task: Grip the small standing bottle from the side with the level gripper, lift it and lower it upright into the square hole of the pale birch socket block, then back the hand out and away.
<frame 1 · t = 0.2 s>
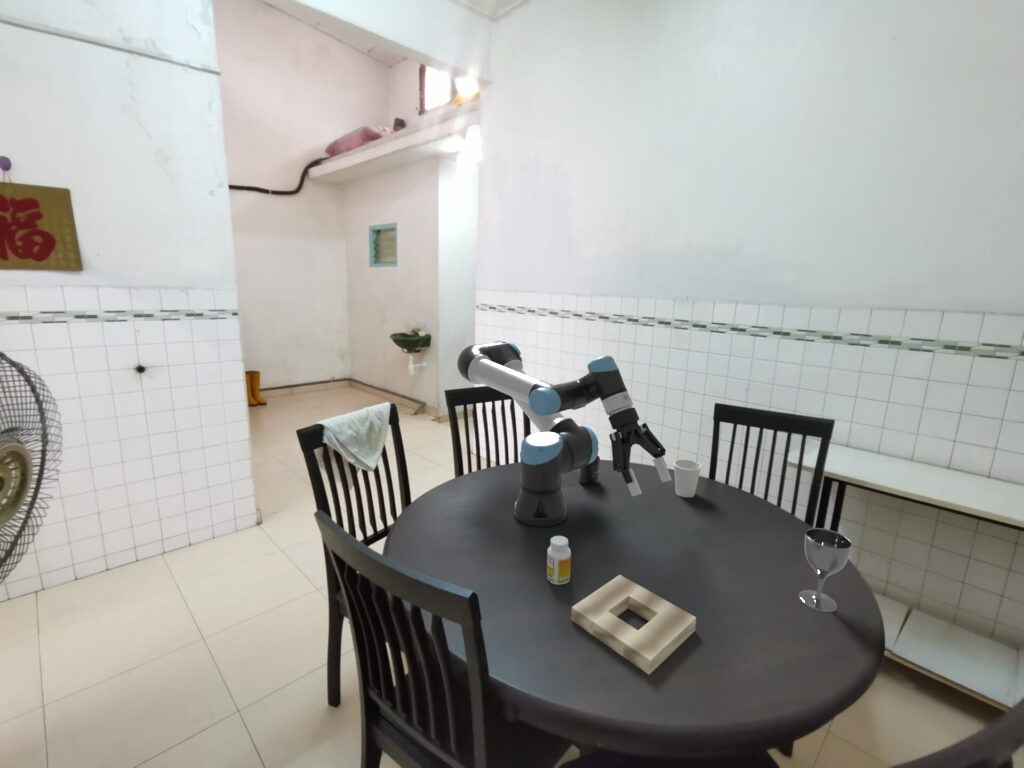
hand: (652, 488, 123), 14 cm above the table, tool tilted 35°, fingers open, 13 cm apart
supplement bottle: (588, 481, 160), on the table
dixie cup: (684, 494, 152), on the table
wine glass: (817, 601, 102), on the table
socket block: (632, 625, 95), on the table
supplement bottle 2: (558, 579, 109), on the table
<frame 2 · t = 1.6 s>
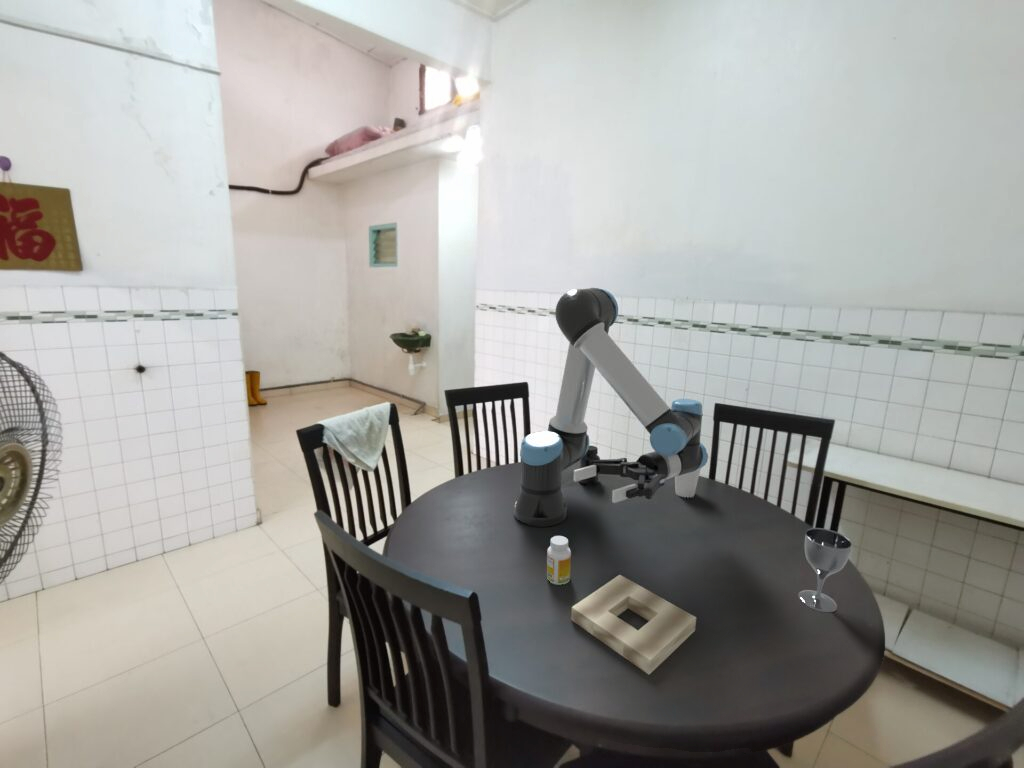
hand: (592, 485, 110), 20 cm above the table, tool horizontal, fingers open, 13 cm apart
nothing on the table moved.
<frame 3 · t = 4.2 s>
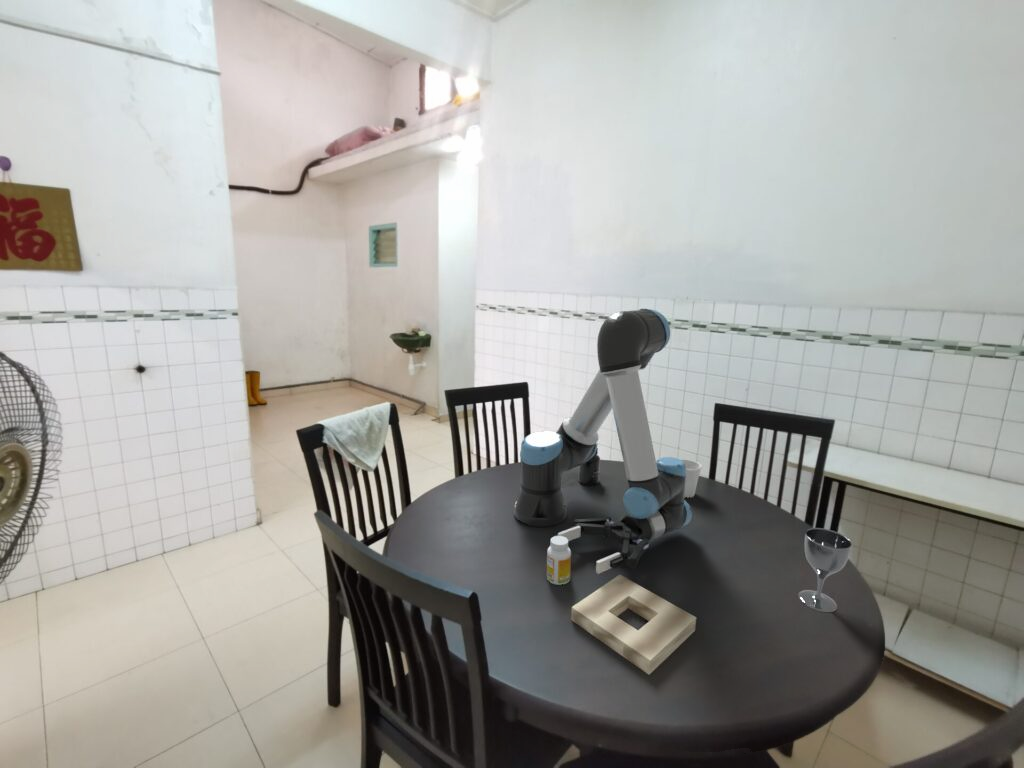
hand: (576, 552, 109), 6 cm above the table, tool horizontal, fingers open, 13 cm apart
nothing on the table moved.
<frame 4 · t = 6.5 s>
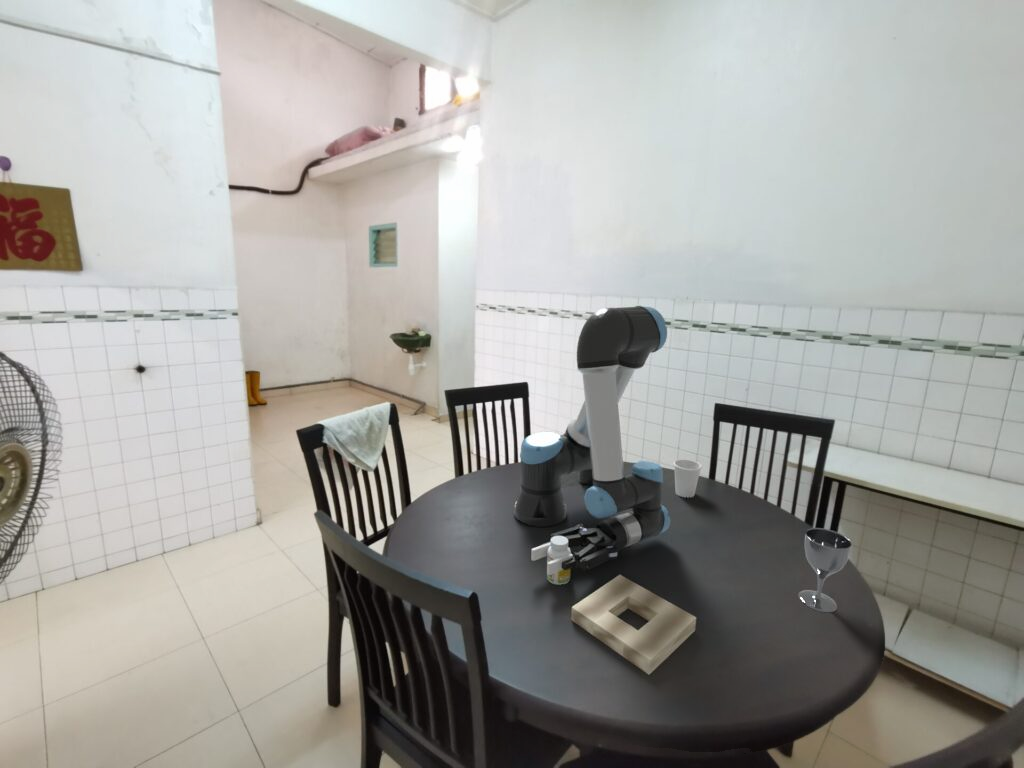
hand: (540, 561, 105), 6 cm above the table, tool horizontal, fingers closed on supplement bottle 2, 5 cm apart
supplement bottle 2: (558, 578, 109), on the table, touching gripper
everything else where it was.
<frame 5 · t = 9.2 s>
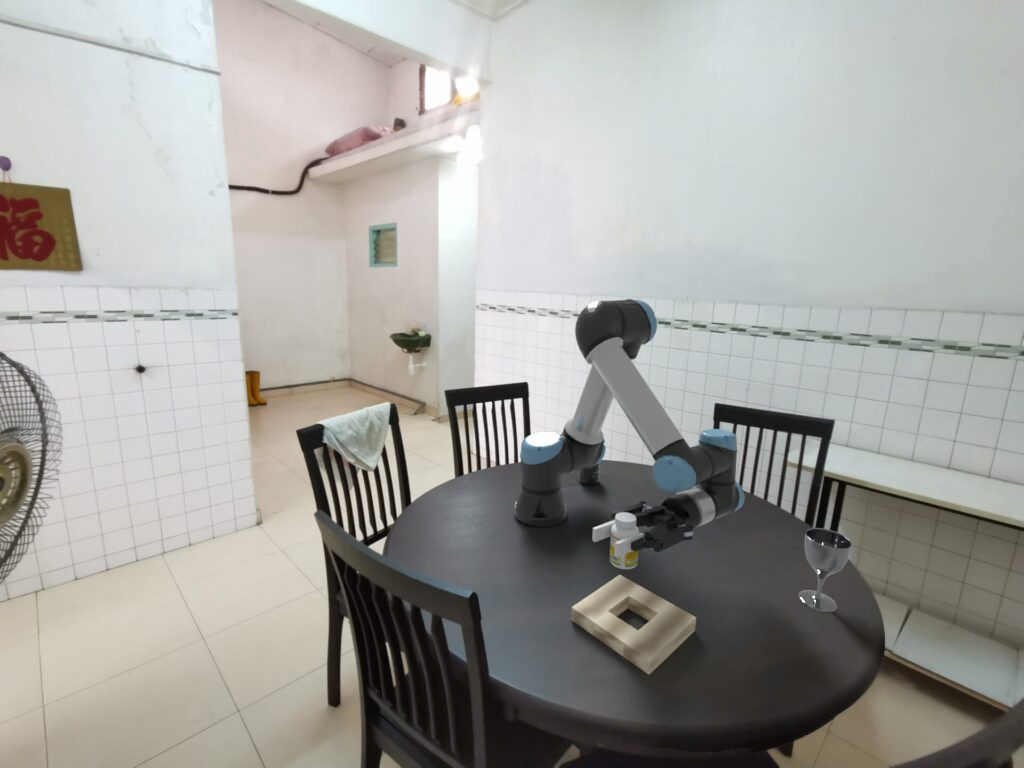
hand: (604, 542, 90), 19 cm above the table, tool horizontal, fingers closed on supplement bottle 2, 5 cm apart
supplement bottle 2: (623, 563, 94), point 13 cm above the table, touching gripper
everything else where it was.
when the fingers open (8 cm above the table, at t = 12.2 s): supplement bottle 2 drops 2 cm, resting in socket block.
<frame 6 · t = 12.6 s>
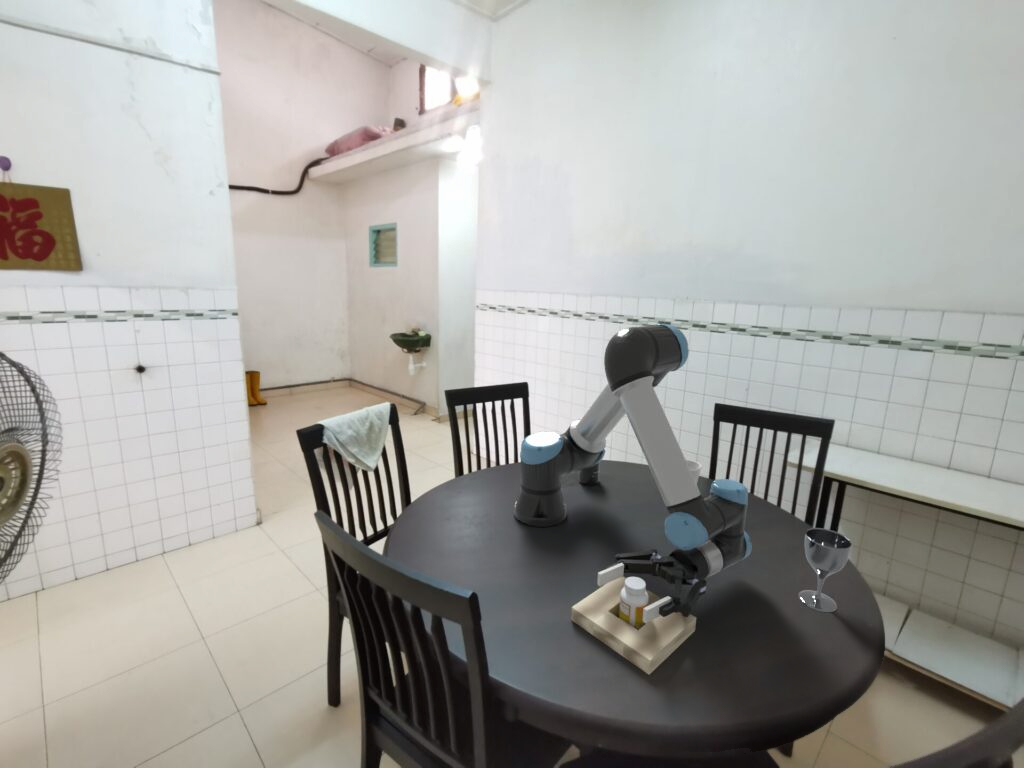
hand: (620, 596, 91), 8 cm above the table, tool horizontal, fingers open, 11 cm apart
supplement bottle 2: (632, 626, 95), resting in socket block
everything else where it was.
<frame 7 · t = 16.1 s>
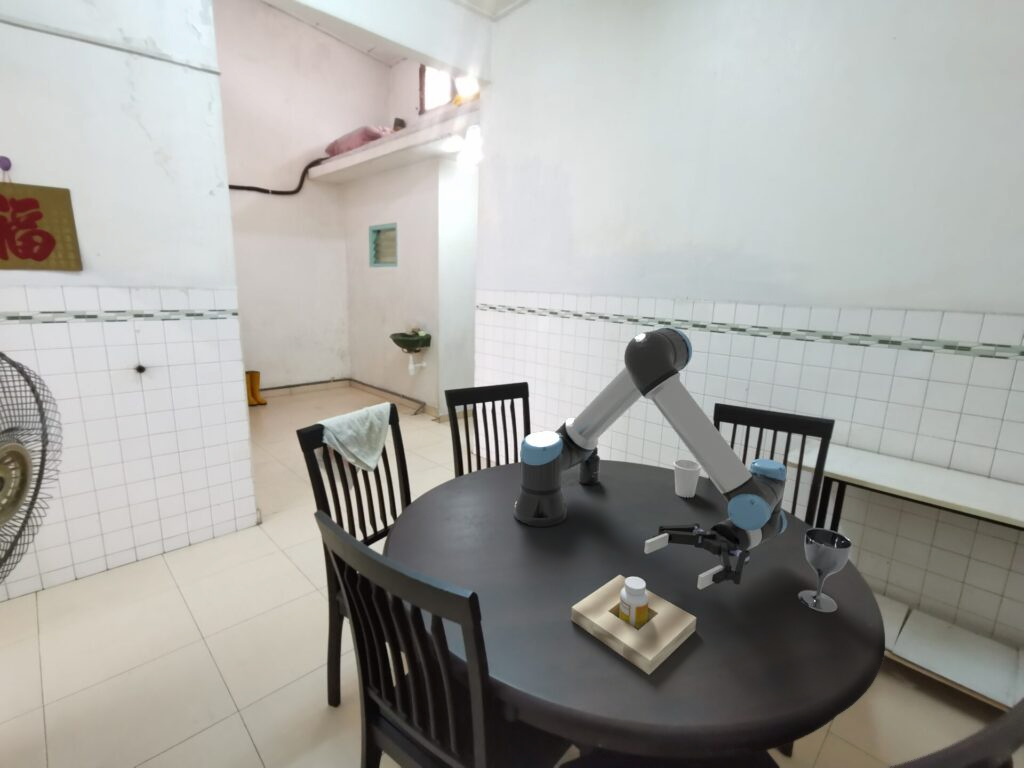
hand: (671, 564, 97), 10 cm above the table, tool horizontal, fingers open, 13 cm apart
nothing on the table moved.
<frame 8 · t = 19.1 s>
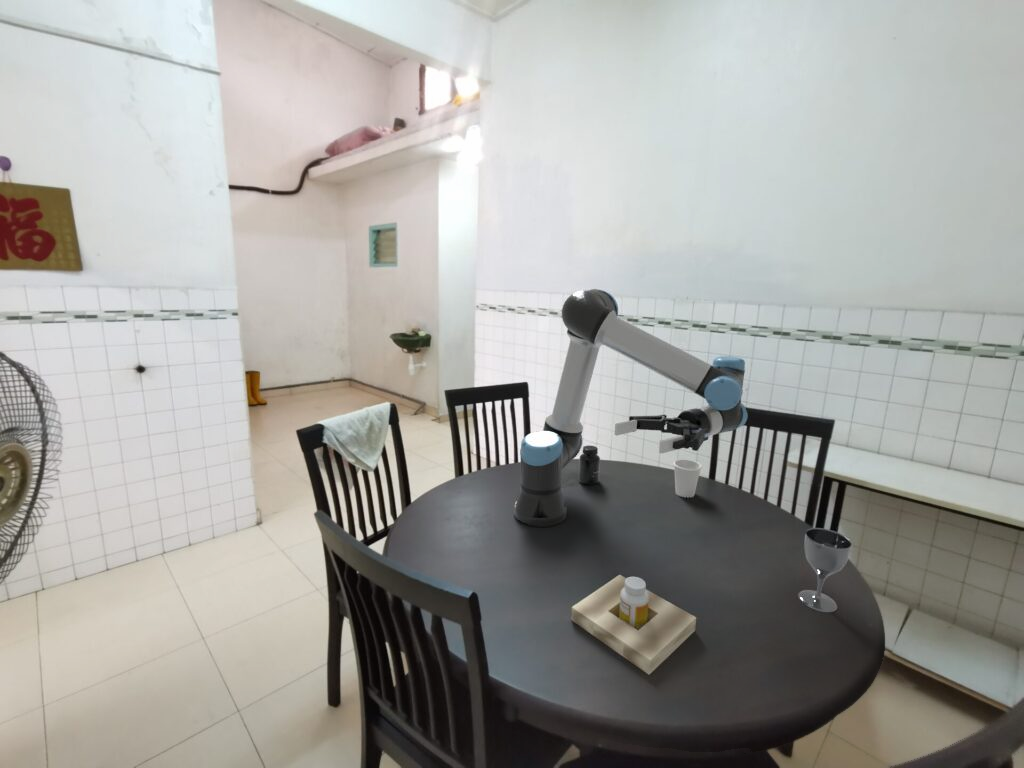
hand: (637, 438, 108), 32 cm above the table, tool horizontal, fingers open, 13 cm apart
nothing on the table moved.
at the end: supplement bottle 2 0.0 cm off-centre on the socket block, point 0.0 cm above the socket block's base; supplement bottle 2 tilted 0°; the gripper is holding nothing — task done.
